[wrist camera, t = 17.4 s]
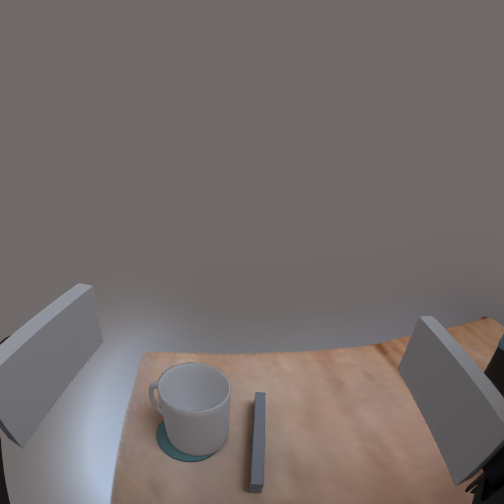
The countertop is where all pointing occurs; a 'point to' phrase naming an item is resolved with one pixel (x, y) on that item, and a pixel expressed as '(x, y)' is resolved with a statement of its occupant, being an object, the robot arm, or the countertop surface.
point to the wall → (258, 445)
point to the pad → (172, 450)
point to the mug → (194, 407)
